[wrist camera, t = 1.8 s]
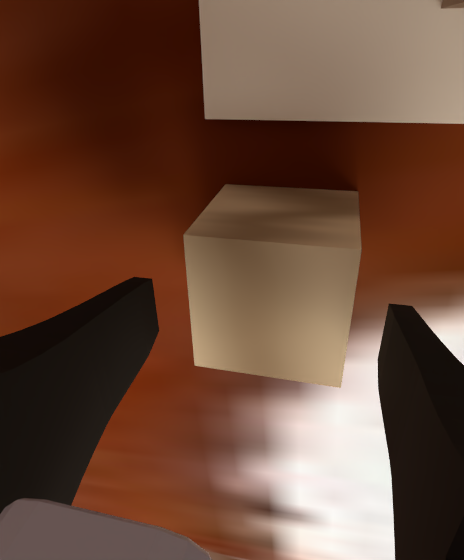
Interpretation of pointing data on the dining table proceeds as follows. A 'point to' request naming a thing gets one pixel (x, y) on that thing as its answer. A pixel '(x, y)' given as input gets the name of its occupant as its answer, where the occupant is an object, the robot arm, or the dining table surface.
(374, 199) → the dining table surface
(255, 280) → the maple cube
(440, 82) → the build board
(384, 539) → the dining table surface
